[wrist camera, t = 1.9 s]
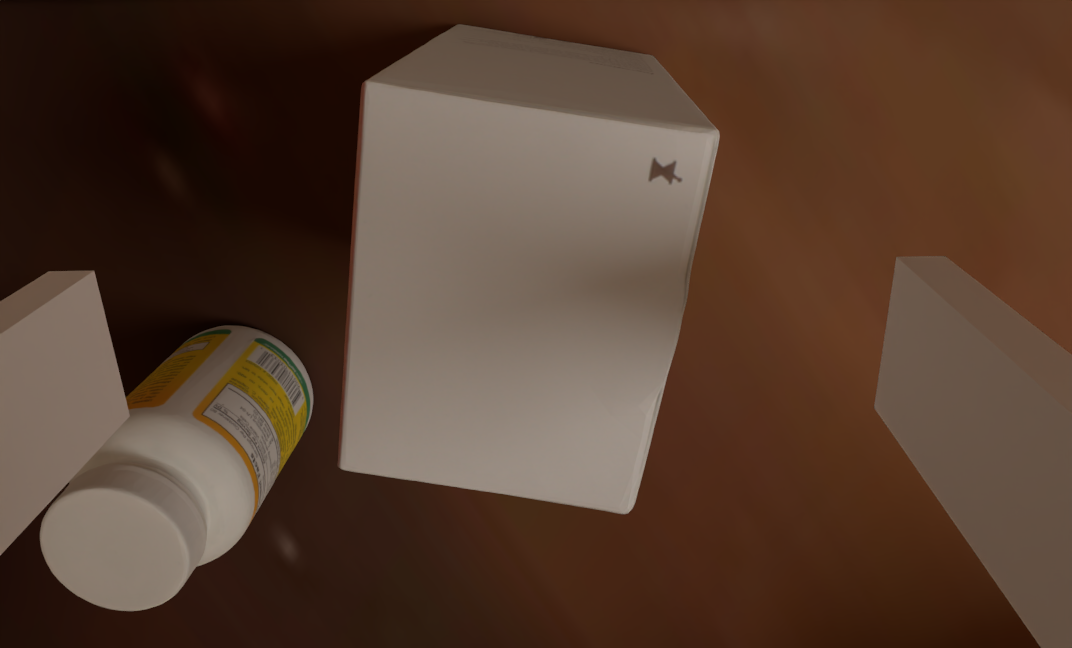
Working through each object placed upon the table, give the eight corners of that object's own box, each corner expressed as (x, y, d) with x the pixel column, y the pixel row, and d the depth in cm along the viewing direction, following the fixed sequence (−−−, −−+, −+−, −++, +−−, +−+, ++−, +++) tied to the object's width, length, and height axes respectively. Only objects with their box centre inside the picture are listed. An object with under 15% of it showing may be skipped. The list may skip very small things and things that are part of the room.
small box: (454, 20, 26) (356, 67, 14) (657, 53, 26) (733, 125, 14) (428, 268, 29) (331, 478, 17) (610, 295, 29) (640, 522, 17)
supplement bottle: (328, 343, 30) (230, 497, 22) (303, 466, 33) (204, 652, 24) (178, 303, 30) (16, 443, 21) (162, 429, 32) (9, 605, 23)
